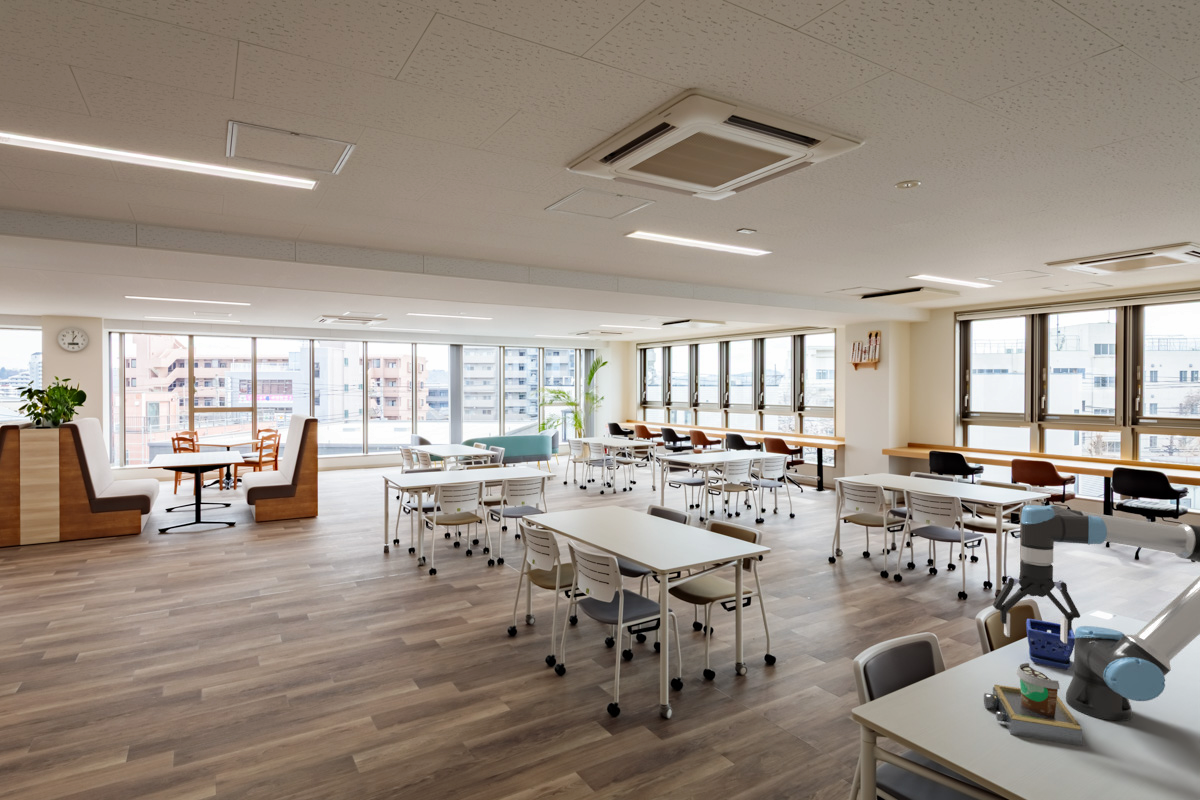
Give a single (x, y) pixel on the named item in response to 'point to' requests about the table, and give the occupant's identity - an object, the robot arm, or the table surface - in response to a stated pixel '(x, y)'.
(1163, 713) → the table surface
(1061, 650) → the flower pot
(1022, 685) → the food container
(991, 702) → the grey flat box
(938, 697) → the table surface
